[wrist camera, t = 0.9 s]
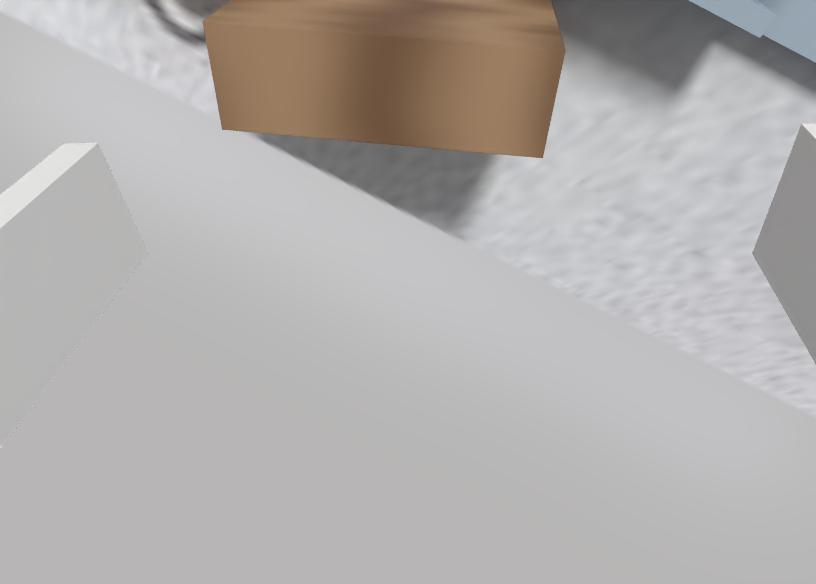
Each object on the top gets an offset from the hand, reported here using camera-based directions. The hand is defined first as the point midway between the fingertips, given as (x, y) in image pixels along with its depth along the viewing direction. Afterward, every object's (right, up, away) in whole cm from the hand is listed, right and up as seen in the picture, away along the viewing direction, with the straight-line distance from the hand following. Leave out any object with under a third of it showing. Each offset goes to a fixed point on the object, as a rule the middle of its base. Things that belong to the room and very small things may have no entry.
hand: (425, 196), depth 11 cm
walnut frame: (0, +10, +13) cm, 16 cm away
